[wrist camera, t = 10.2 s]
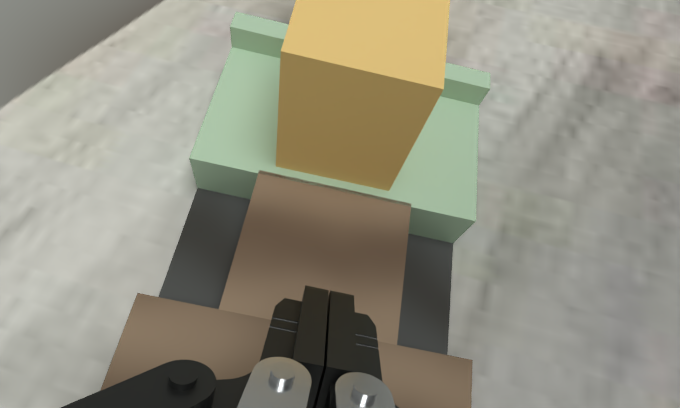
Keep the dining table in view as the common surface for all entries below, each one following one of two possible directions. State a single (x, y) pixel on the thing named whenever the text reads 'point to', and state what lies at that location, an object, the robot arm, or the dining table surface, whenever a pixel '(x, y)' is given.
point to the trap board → (300, 286)
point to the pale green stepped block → (260, 154)
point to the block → (358, 85)
